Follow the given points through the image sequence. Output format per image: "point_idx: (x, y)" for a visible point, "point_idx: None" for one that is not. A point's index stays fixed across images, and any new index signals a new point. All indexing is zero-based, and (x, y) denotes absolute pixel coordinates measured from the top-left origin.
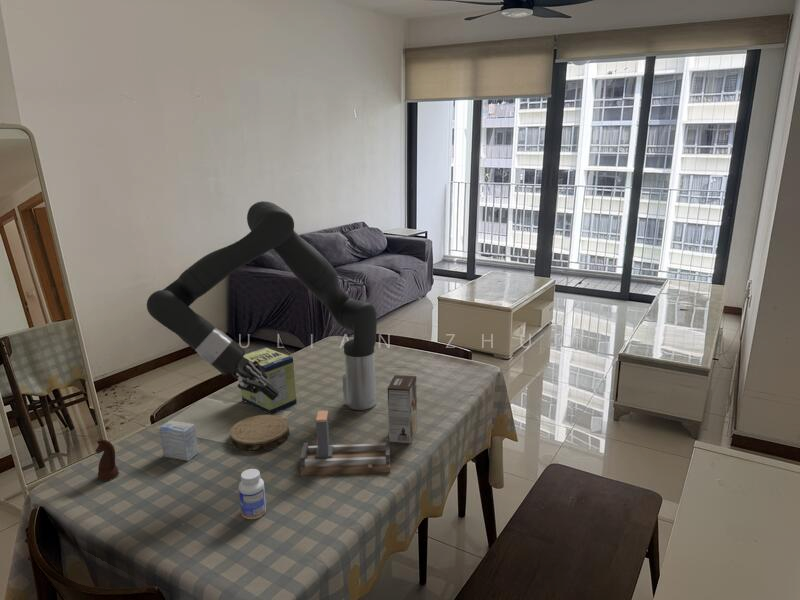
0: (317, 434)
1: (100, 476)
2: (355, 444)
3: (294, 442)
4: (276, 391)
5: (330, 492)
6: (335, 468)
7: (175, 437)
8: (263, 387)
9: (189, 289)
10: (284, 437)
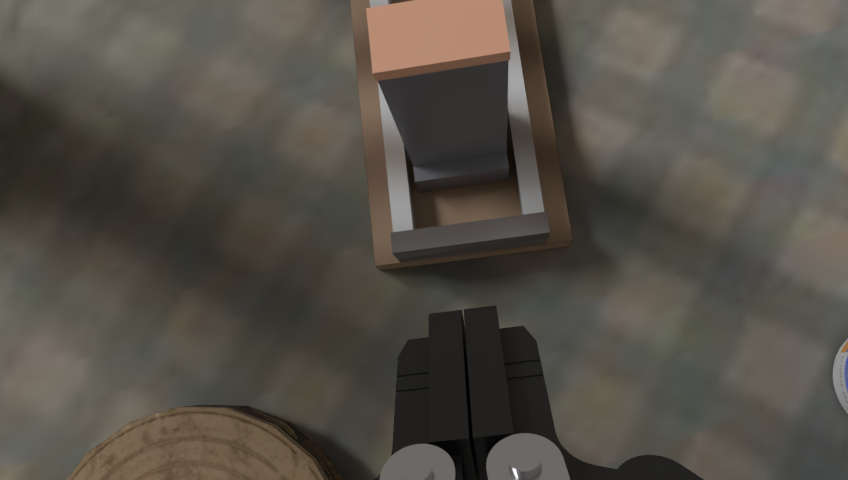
0: (507, 99)
1: None
2: None
3: (274, 357)
4: (462, 326)
5: (684, 85)
6: (543, 83)
7: None
8: (590, 465)
9: None
10: (255, 413)
